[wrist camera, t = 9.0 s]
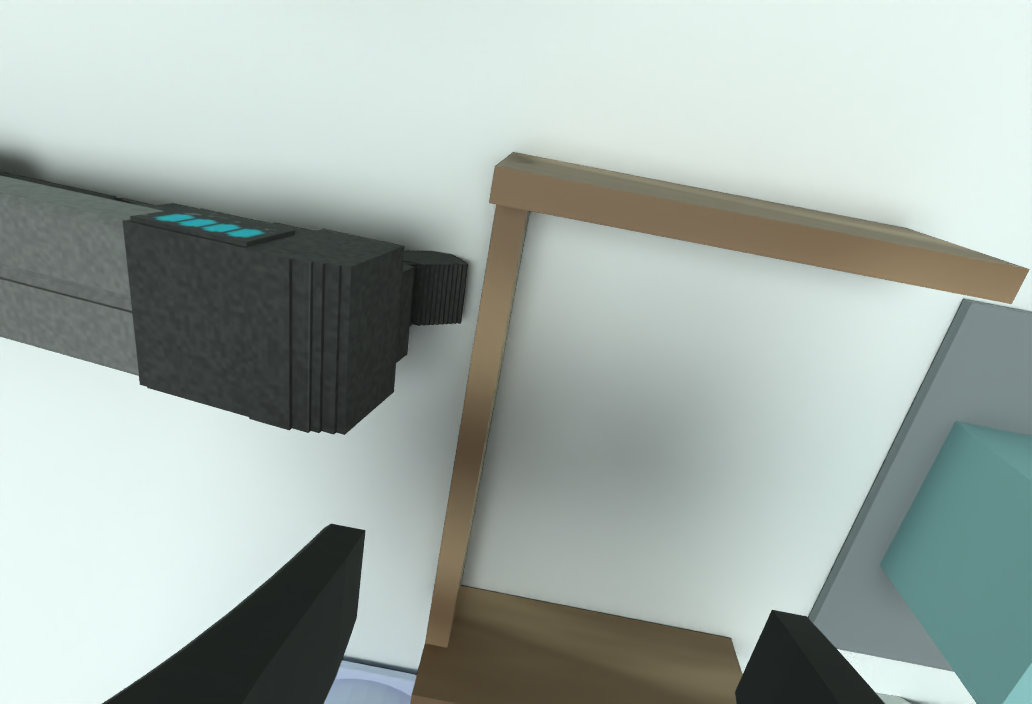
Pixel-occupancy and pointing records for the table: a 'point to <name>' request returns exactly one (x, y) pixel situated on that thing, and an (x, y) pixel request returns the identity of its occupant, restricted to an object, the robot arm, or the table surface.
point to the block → (973, 560)
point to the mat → (939, 403)
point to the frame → (459, 609)
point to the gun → (218, 302)
